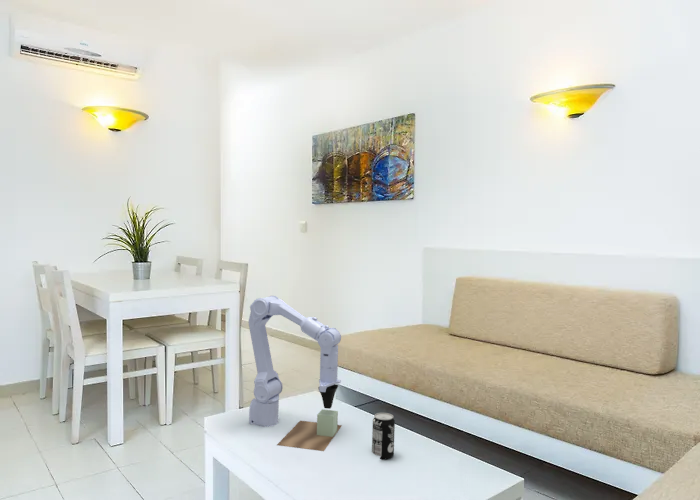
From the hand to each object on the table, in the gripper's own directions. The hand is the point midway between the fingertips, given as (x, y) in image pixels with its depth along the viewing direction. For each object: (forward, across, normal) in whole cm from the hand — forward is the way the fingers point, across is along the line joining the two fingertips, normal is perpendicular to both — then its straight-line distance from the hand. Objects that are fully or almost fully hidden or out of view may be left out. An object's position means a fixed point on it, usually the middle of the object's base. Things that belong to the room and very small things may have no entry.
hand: (327, 407), depth 168 cm
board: (+9, -3, +4) cm, 11 cm away
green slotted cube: (+8, 0, 0) cm, 8 cm away
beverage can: (+10, -9, -20) cm, 24 cm away
